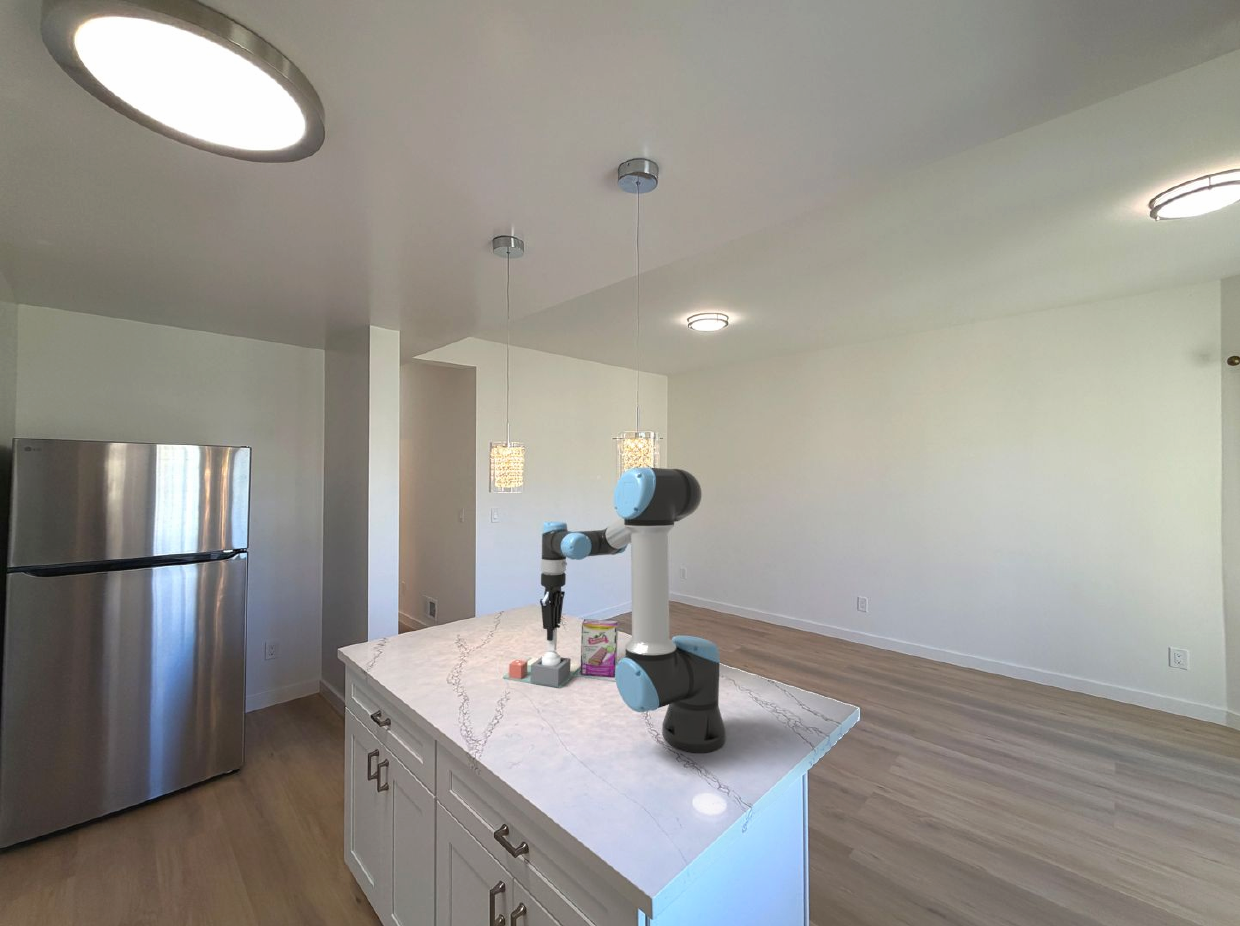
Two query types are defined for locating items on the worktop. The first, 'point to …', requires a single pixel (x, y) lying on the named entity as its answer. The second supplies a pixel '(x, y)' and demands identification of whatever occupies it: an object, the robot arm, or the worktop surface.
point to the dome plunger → (551, 659)
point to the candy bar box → (599, 647)
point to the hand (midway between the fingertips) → (551, 649)
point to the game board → (542, 672)
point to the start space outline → (592, 677)
